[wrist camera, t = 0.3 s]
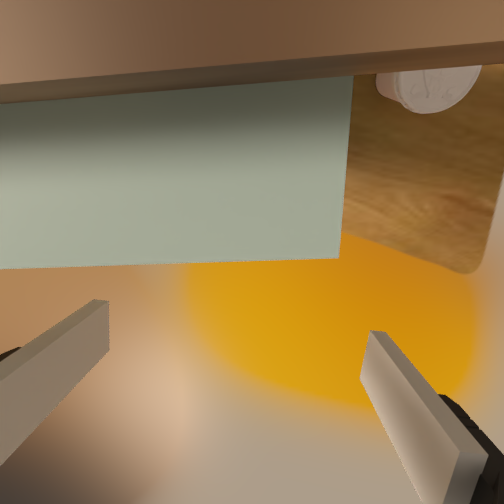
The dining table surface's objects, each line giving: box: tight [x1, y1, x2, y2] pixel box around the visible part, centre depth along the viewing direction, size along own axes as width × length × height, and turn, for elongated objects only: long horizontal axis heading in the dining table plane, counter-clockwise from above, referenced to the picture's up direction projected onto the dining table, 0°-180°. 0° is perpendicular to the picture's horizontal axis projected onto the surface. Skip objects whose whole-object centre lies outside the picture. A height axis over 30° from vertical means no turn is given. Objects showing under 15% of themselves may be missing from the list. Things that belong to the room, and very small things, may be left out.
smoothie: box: [376, 65, 482, 114], centre depth 25 cm, size 6×6×14 cm
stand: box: [0, 76, 354, 269], centre depth 19 cm, size 14×14×30 cm
